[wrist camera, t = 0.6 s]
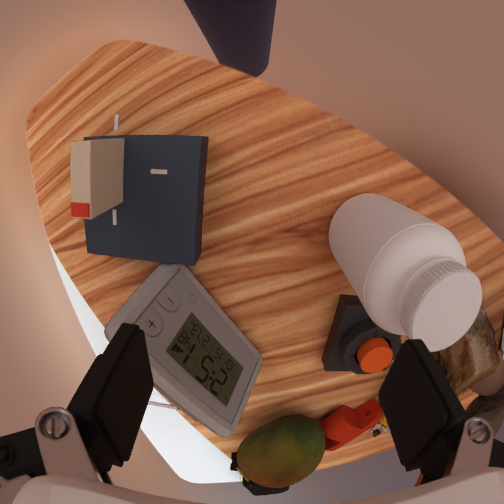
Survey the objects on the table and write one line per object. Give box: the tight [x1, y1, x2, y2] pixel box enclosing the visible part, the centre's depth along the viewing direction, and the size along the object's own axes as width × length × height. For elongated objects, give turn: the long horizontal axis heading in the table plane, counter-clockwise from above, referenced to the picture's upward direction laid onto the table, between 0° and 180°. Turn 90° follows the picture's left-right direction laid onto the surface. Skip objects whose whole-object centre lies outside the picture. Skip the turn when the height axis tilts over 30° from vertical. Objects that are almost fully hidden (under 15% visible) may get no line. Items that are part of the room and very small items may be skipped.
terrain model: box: [465, 385, 504, 438], centre depth 24 cm, size 21×21×5 cm
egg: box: [470, 352, 504, 396], centre depth 29 cm, size 7×7×9 cm
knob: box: [71, 138, 125, 219], centre depth 19 cm, size 6×2×6 cm, turn 174°
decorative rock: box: [439, 306, 500, 394], centre depth 29 cm, size 12×6×11 cm
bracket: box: [321, 400, 383, 451], centre depth 35 cm, size 12×4×5 cm
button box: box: [322, 295, 401, 374], centre depth 29 cm, size 9×8×4 cm
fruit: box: [237, 416, 326, 488], centre depth 33 cm, size 12×13×10 cm
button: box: [357, 337, 393, 373], centre depth 27 cm, size 4×4×2 cm
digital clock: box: [104, 262, 262, 437], centre depth 26 cm, size 16×9×11 cm, turn 23°
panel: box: [70, 114, 208, 266], centre depth 24 cm, size 13×12×3 cm
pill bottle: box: [329, 193, 482, 352], centre depth 20 cm, size 8×8×15 cm
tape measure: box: [230, 452, 289, 496], centre depth 42 cm, size 15×4×8 cm
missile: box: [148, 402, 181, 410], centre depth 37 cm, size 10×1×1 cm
